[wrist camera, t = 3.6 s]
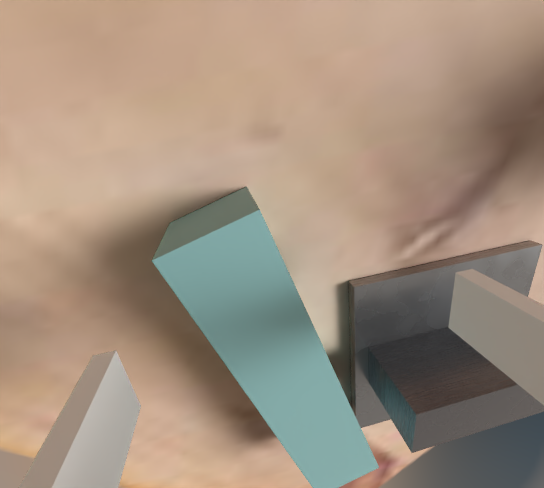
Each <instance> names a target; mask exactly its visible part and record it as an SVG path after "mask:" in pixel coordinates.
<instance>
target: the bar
mask: <svg viewBox="0 0 544 488" xmlns="http://www.w3.org/2000/svg"><path fill="white" fill-rule="evenodd" d="M152 262H153V263H154V265H155V266H156V268H157V269H158V270H159V272H160V273H161V275H162V276H163V277H164V279H165V280H166V282H167V283H168V284H169V286H170V287H171V289H172V290H173V291H174V293H175V294H176V296H177V297H178V299H179V300H180V301H181V303H182V304H183V306H184V307H185V308H186V310H187V311H188V313H189V314H190V315H191V317H192V318H193V320H194V321H195V322H196V324H197V325H198V327H199V328H200V330H201V331H202V332H203V334H204V335H205V337H206V338H207V339H208V341H209V342H210V344H211V345H212V346H213V348H214V349H215V351H216V352H217V353H218V355H219V356H220V358H221V359H222V361H223V362H224V363H225V365H226V366H227V368H228V369H229V370H230V372H231V373H232V375H233V376H234V377H235V379H236V380H237V382H238V383H239V384H240V386H241V387H242V389H243V390H244V392H245V393H246V394H247V396H248V397H249V399H250V400H251V401H252V403H253V404H254V406H255V407H256V408H257V410H258V411H259V413H260V414H261V415H262V417H263V418H264V420H265V421H266V423H267V424H268V425H269V427H270V428H271V430H272V431H273V432H274V434H275V435H276V437H277V438H278V439H279V441H280V442H281V444H282V445H283V446H284V448H285V449H286V451H287V452H288V453H289V455H290V456H291V458H292V459H293V461H294V462H295V463H296V465H297V466H298V468H299V469H300V470H301V472H302V473H303V475H304V476H305V477H306V479H307V480H308V482H309V483H310V484H311V486H312V487H313V488H338V487H340V486H342V485H344V484H346V483H348V482H351V481H353V480H355V479H357V478H359V477H361V476H363V475H365V474H367V473H369V472H371V471H373V470H375V469H377V468H379V466H378V464H377V462H376V460H375V458H374V456H373V453H372V451H371V449H370V447H369V445H368V443H367V441H366V438H365V436H364V434H363V432H362V430H361V428H360V425H359V423H358V421H357V419H356V417H355V415H354V412H353V410H352V408H351V406H350V404H349V402H348V399H347V397H346V395H345V393H344V391H343V389H342V387H341V384H340V382H339V380H338V378H337V376H336V374H335V371H334V369H333V367H332V365H331V363H330V361H329V358H328V356H327V354H326V352H325V350H324V348H323V345H322V343H321V341H320V339H319V337H318V335H317V333H316V330H315V328H314V326H313V324H312V322H311V320H310V317H309V315H308V313H307V311H306V309H305V307H304V304H303V302H302V300H301V298H300V296H299V294H298V291H297V289H296V287H295V285H294V283H293V281H292V278H291V276H290V274H289V272H288V270H287V268H286V266H285V263H284V261H283V259H282V257H281V255H280V253H279V250H278V248H277V246H276V244H275V242H274V240H273V237H272V235H271V233H270V231H269V229H268V227H267V224H266V222H265V220H264V218H263V216H262V214H261V212H260V209H259V208H258V206H257V204H256V202H255V201H254V199H253V197H252V195H251V194H250V192H249V190H248V188H247V187H245V188H242V189H240V190H238V191H236V192H234V193H232V194H230V195H228V196H226V197H223V198H221V199H219V200H217V201H215V202H213V203H211V204H209V205H207V206H204V207H202V208H200V209H198V210H196V211H194V212H192V213H190V214H188V215H185V216H183V217H181V218H179V219H177V220H175V221H173V222H171V223H170V224H169V226H168V228H167V230H166V232H165V234H164V236H163V238H162V240H161V242H160V244H159V247H158V249H157V251H156V253H155V255H154V257H153V259H152Z"/></svg>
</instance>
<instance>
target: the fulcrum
mask: <svg viewBox="0 0 544 488" xmlns="http://www.w3.org/2000/svg"><path fill="white" fill-rule="evenodd" d="M541 248H542V244H539V243H536V242H533V241H526V242H522V243H517V244H513V245H508V246H504V247H499V248H495V249H490V250H486V251H481V252H477V253H472V254H468V255H463V256H459V257H454V258H450V259H445V260H441V261H436V262H432V263H427V264H423V265H418V266H414V267H409V268H405V269H400V270H396V271H391V272H387V273H382V274H378V275H373V276H369V277H364V278H360V279H355V280H351V281H349V316H350V361H351V407H352V410H353V412H354V415H355V417H356V419H357V421H358V423H359V425H360V428H362V427H366V426H369V425H373V424H376V423H379V422H383V421H386V420H390V419H391V420H392V421H393V423H394V424H395V426H396V428H397V429H398V431H399V433H400V434H401V436H402V437H403V439H404V441H405V442H406V444H407V446H408V447H409V449H410V451H411V452H412V453H413V452H416V451H419V450H423V449H426V448H429V447H432V446H435V445H438V444H442V443H445V442H448V441H451V440H454V439H457V438H461V437H464V436H467V435H470V434H474V433H477V432H480V431H483V430H486V429H489V428H493V427H496V426H499V425H502V424H505V423H508V422H512V421H515V420H518V419H521V418H524V417H528V416H531V415H534V414H537V413H540V412H544V405H542V404H541V403H540V402H539V401H538V400H536V399H535V398H534V397H533V396H531V395H530V394H529V393H528V392H527V391H525V390H524V389H523V388H522V387H520V386H519V385H518V384H517V383H516V382H514V381H513V380H512V379H511V378H509V377H508V376H507V375H506V374H505V373H503V372H502V371H501V370H500V369H498V368H497V367H496V366H495V365H494V364H492V363H491V362H490V361H489V360H487V359H486V358H485V357H484V356H483V355H481V354H480V353H479V352H478V351H476V350H475V349H474V348H473V347H471V346H470V345H469V344H468V343H467V342H465V341H464V340H463V339H462V338H460V337H459V336H458V335H457V334H456V333H454V332H453V331H452V330H451V329H449V328H448V326H449V319H450V311H451V304H452V296H453V289H454V281H455V273H456V272H461V271H465V270H469V269H474V270H476V271H478V272H480V273H482V274H484V275H486V276H488V277H489V278H491V279H493V280H495V281H497V282H499V283H501V284H503V285H505V286H507V287H509V288H511V289H513V290H515V291H517V292H519V293H521V294H523V295H525V296H527V297H528V294H529V290H530V287H531V283H532V280H533V276H534V273H535V269H536V266H537V262H538V259H539V255H540V252H541Z"/></svg>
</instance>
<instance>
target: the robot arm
mask: <svg viewBox="0 0 544 488" xmlns="http://www.w3.org/2000/svg"><path fill="white" fill-rule="evenodd" d="M448 328H449V329H451V330H452V331H453V332H454V333H456V334H457V335H458V336H459V337H460V338H462V339H463V340H464V341H465V342H467V343H468V344H469V345H470V346H471V347H473V348H474V349H475V350H476V351H478V352H479V353H480V354H481V355H483V356H484V357H485V358H486V359H487V360H489V361H490V362H491V363H492V364H494V365H495V366H496V367H497V368H498V369H500V370H501V371H502V372H503V373H505V374H506V375H507V376H508V377H509V378H511V379H512V380H513V381H514V382H516V383H517V384H518V385H519V386H520V387H522V388H523V389H524V390H525V391H527V392H528V393H529V394H530V395H531V396H533V397H534V398H535V399H536V400H538V401H539V402H540V403H541V404H542V405H544V305H542V304H540V303H538V302H536V301H534V300H533V299H531V298H529V297H527V296H525V295H523V294H521V293H519V292H517V291H515V290H513V289H511V288H509V287H507V286H505V285H503V284H501V283H499V282H497V281H495V280H493V279H491V278H489V277H488V276H486V275H484V274H482V273H480V272H478V271H476V270H474V269H469V270H465V271H461V272H456V273H455V281H454V289H453V296H452V304H451V311H450V319H449V326H448ZM140 408H141V405H140V403H139V401H138V398H137V396H136V394H135V392H134V389H133V387H132V385H131V383H130V380H129V378H128V376H127V374H126V372H125V369H124V367H123V365H122V363H121V360H120V358H119V356H118V354H117V351H111V352H107V353H103V354H98V355H94V356H92V358H91V360H90V361H89V363H88V365H87V367H86V369H85V370H84V372H83V374H82V376H81V377H80V379H79V381H78V383H77V384H76V386H75V388H74V390H73V392H72V393H71V395H70V397H69V399H68V400H67V402H66V404H65V406H64V408H63V409H62V411H61V413H60V415H59V416H58V418H57V420H56V422H55V423H54V425H53V427H52V429H51V431H50V432H49V434H48V436H47V438H46V439H45V441H44V443H43V445H42V446H41V448H40V450H39V452H38V454H37V455H36V457H35V459H34V461H33V462H32V464H31V466H30V468H29V470H28V471H27V473H26V475H25V477H24V479H23V480H22V482H21V484H20V485H19V487H18V488H118V486H119V483H120V479H121V476H122V472H123V468H124V465H125V461H126V458H127V454H128V451H129V447H130V443H131V440H132V436H133V433H134V429H135V425H136V422H137V418H138V415H139V411H140Z"/></svg>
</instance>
